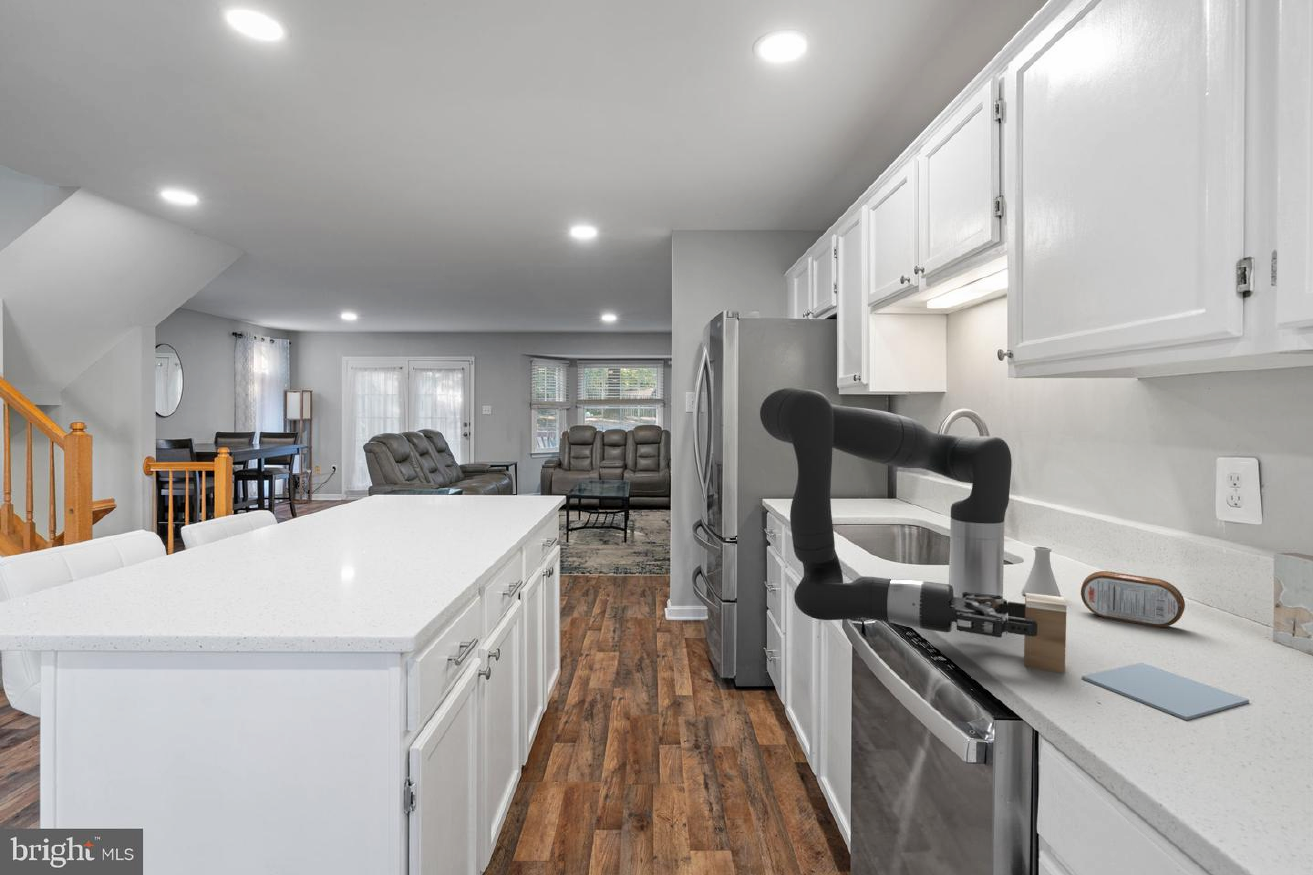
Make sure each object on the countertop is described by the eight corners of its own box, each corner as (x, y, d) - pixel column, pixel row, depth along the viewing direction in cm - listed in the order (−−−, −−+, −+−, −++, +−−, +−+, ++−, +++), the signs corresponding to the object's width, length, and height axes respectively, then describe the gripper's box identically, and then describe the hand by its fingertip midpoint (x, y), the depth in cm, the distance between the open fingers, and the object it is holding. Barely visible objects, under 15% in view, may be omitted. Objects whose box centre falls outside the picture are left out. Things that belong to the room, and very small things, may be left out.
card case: (1023, 656, 98) (1025, 592, 97) (1062, 662, 95) (1063, 597, 95) (1024, 666, 94) (1026, 600, 93) (1064, 673, 91) (1066, 605, 91)
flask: (1066, 595, 130) (1067, 547, 130) (1056, 603, 125) (1058, 553, 125) (1026, 588, 135) (1027, 542, 135) (1016, 595, 130) (1017, 547, 130)
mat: (1081, 678, 90) (1081, 675, 90) (1141, 665, 94) (1141, 662, 94) (1186, 720, 77) (1186, 716, 77) (1249, 702, 82) (1249, 699, 82)
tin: (1184, 628, 110) (1185, 581, 110) (1183, 633, 108) (1184, 584, 108) (1081, 610, 120) (1082, 566, 120) (1078, 614, 118) (1079, 570, 118)
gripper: (914, 592, 96) (1038, 608, 88) (925, 571, 109) (1034, 584, 101) (914, 641, 97) (1037, 661, 89) (924, 614, 109) (1033, 630, 101)
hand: (1036, 620), depth 95 cm, fingers open, 8 cm apart
